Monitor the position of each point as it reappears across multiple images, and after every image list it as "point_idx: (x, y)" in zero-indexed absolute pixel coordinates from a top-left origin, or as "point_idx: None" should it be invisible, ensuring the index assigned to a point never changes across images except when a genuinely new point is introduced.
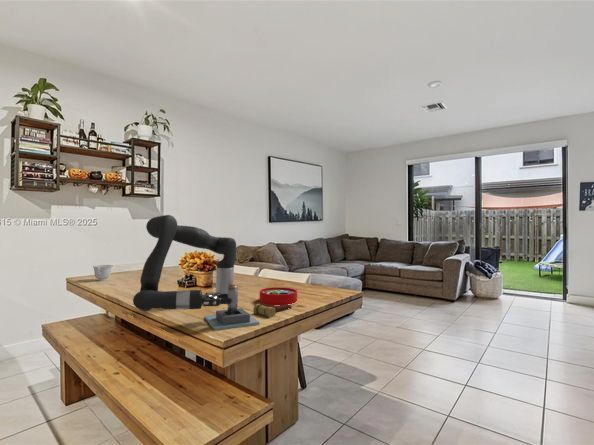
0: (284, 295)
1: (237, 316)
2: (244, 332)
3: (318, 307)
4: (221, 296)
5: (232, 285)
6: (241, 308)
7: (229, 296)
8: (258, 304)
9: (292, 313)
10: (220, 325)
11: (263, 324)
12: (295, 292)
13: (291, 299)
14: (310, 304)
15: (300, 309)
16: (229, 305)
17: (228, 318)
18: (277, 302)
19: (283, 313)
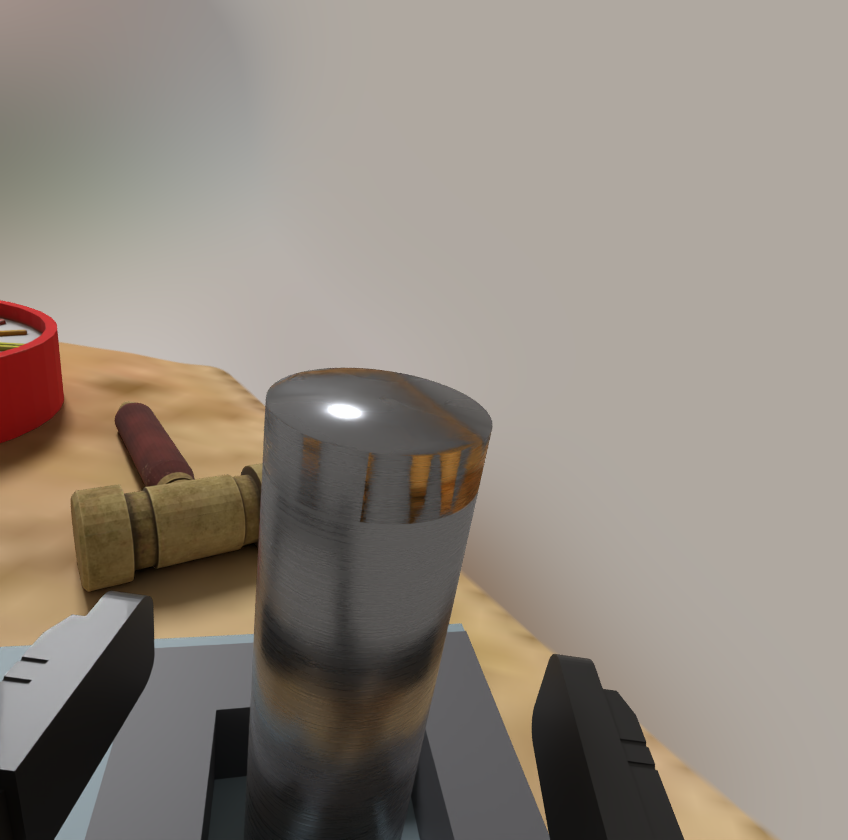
0: (42, 349)
1: (519, 769)
2: (705, 809)
3: (215, 367)
4: (11, 823)
5: (340, 401)
6: (156, 651)
7: (428, 643)
8: (110, 496)
9: (259, 444)
10: None
11: (459, 616)
12: (38, 313)
13: (60, 364)
14: (136, 363)
15: (200, 406)
16: (403, 772)
17: None
18: (9, 414)
19: (231, 468)
